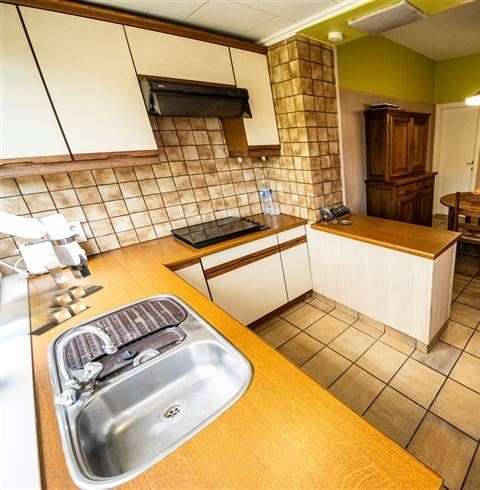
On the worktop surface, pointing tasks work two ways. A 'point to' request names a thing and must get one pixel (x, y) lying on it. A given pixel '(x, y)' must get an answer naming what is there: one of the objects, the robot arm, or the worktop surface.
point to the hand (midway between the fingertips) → (83, 275)
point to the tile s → (78, 274)
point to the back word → (72, 295)
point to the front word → (61, 315)
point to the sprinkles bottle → (58, 275)
